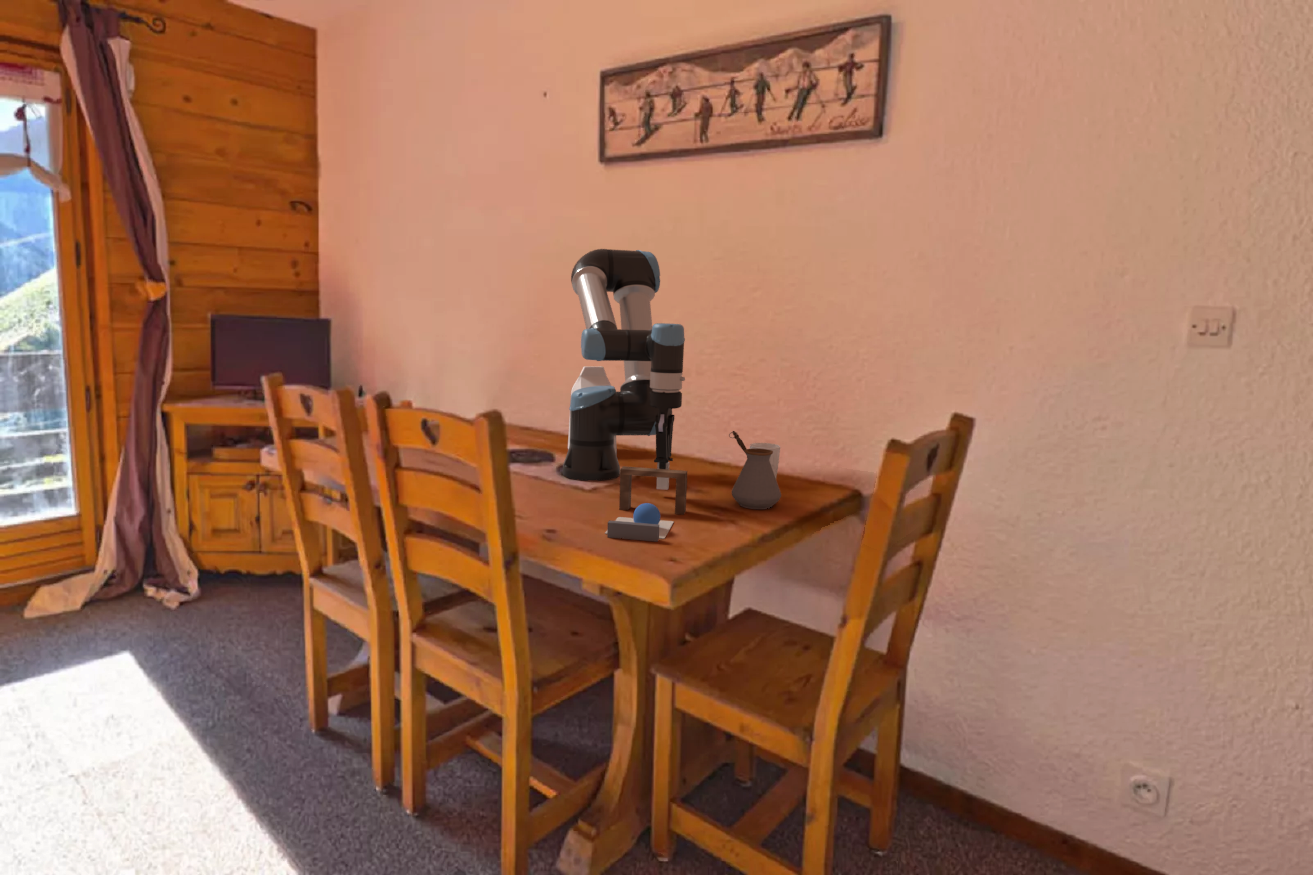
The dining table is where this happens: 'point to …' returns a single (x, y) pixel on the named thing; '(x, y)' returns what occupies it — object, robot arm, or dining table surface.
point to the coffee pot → (756, 479)
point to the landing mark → (663, 526)
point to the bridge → (651, 472)
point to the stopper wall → (633, 530)
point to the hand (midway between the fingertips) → (662, 488)
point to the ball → (646, 514)
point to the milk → (591, 385)
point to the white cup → (774, 457)
